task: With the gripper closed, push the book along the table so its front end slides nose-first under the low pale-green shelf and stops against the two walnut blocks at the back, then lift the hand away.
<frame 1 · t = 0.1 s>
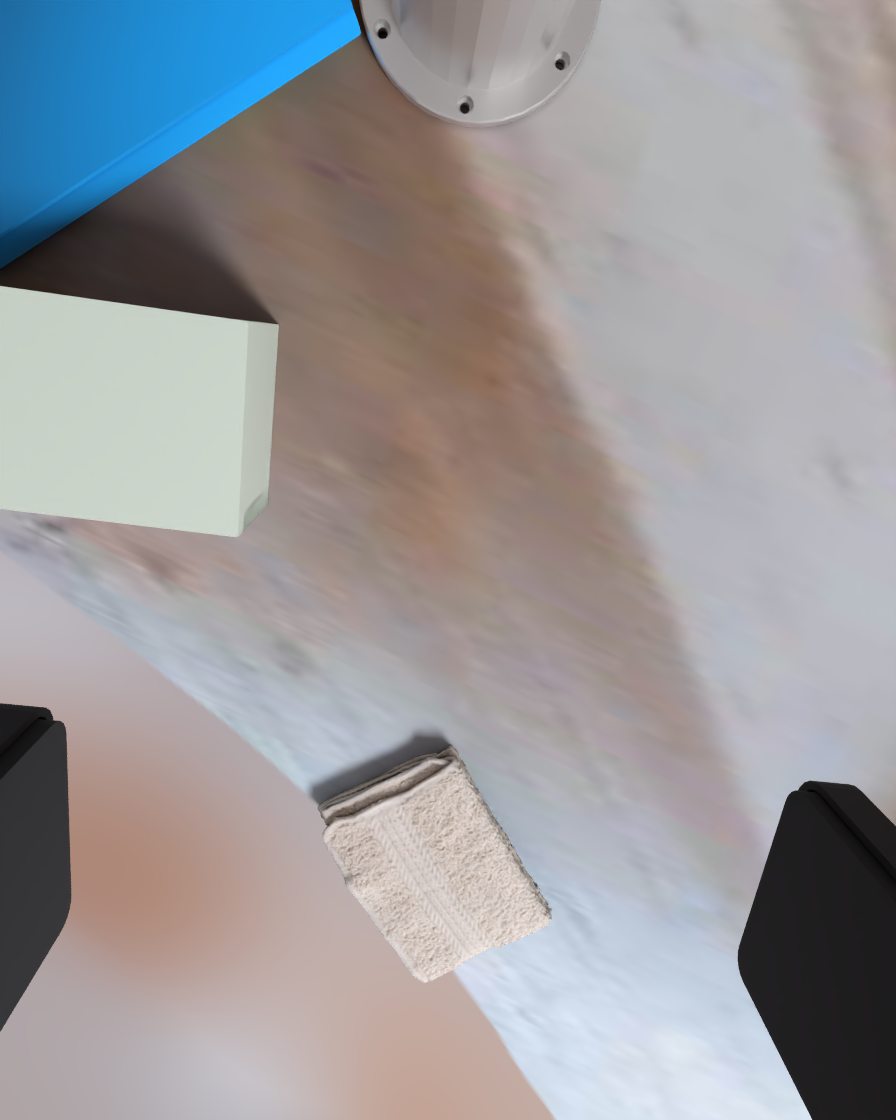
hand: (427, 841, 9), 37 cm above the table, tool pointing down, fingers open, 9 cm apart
book: (80, 13, 37), on the table
shelf: (93, 394, 42), on the table
washcloth: (436, 852, 54), on the table
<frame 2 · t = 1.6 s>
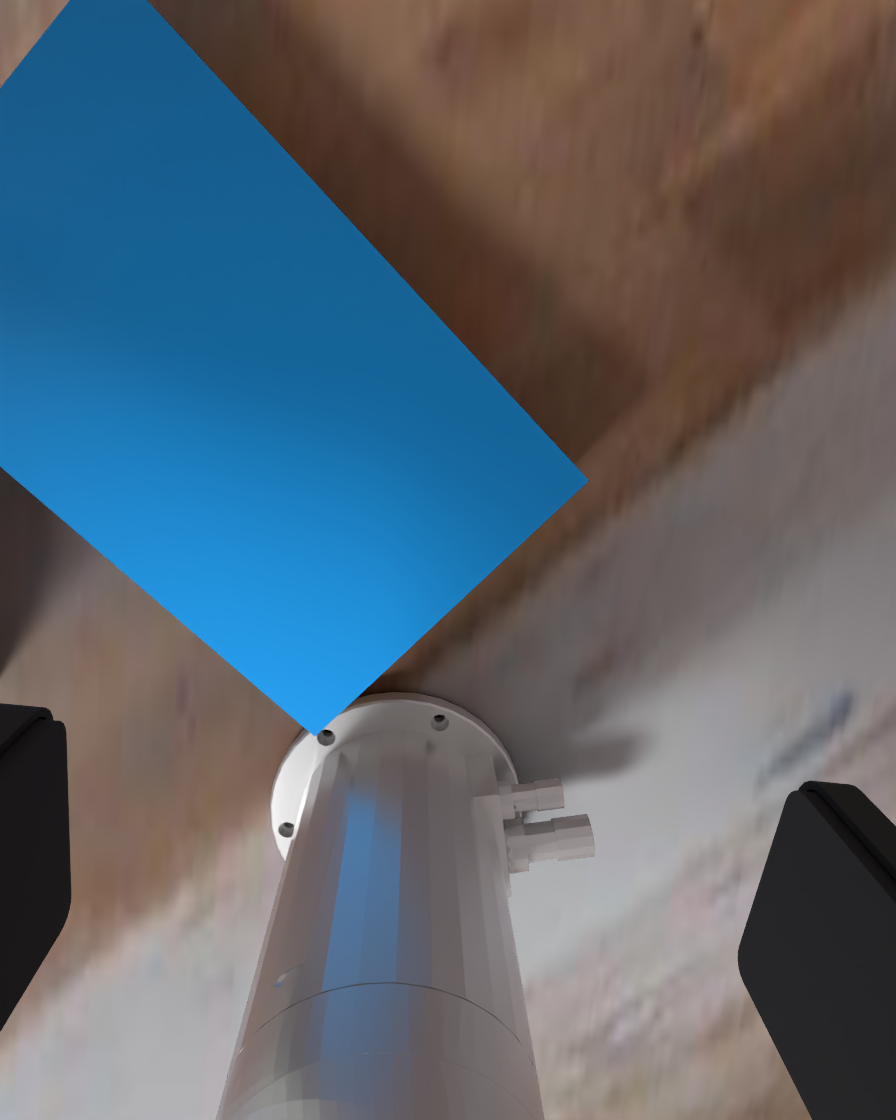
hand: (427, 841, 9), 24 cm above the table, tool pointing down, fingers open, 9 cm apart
book: (245, 401, 31), on the table
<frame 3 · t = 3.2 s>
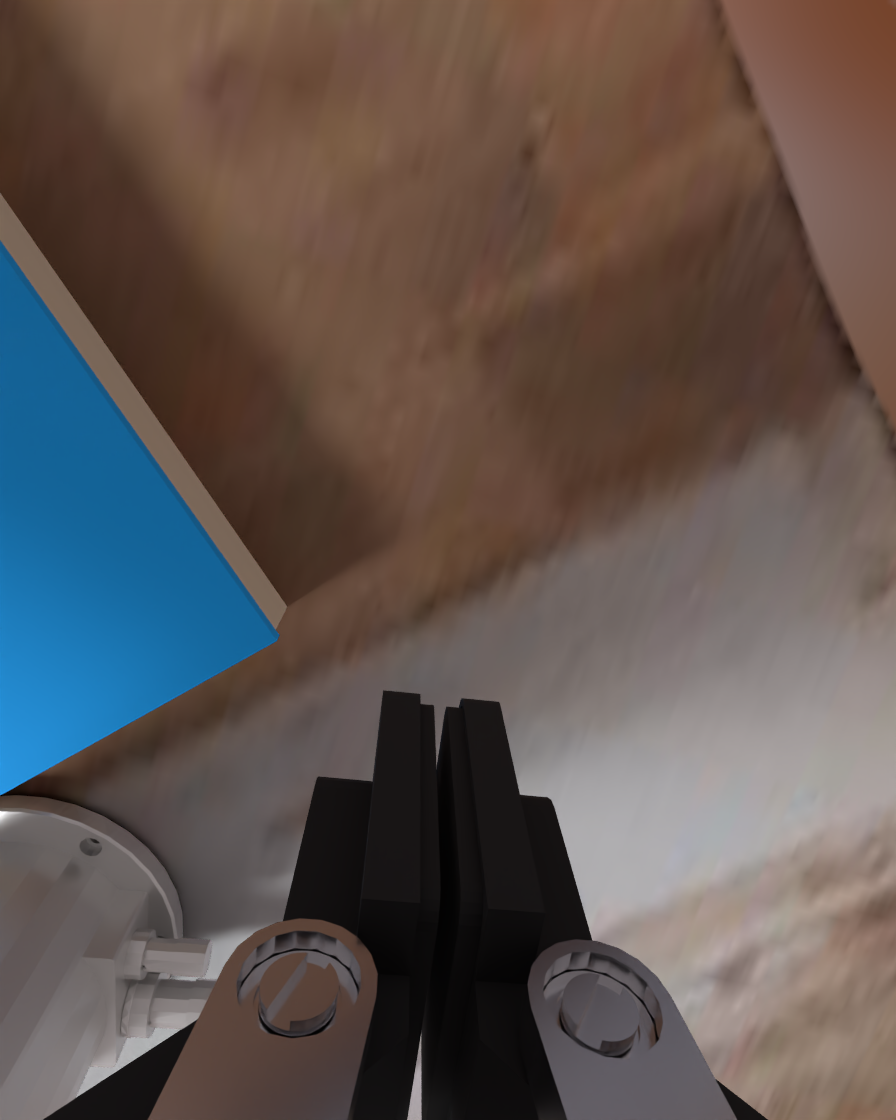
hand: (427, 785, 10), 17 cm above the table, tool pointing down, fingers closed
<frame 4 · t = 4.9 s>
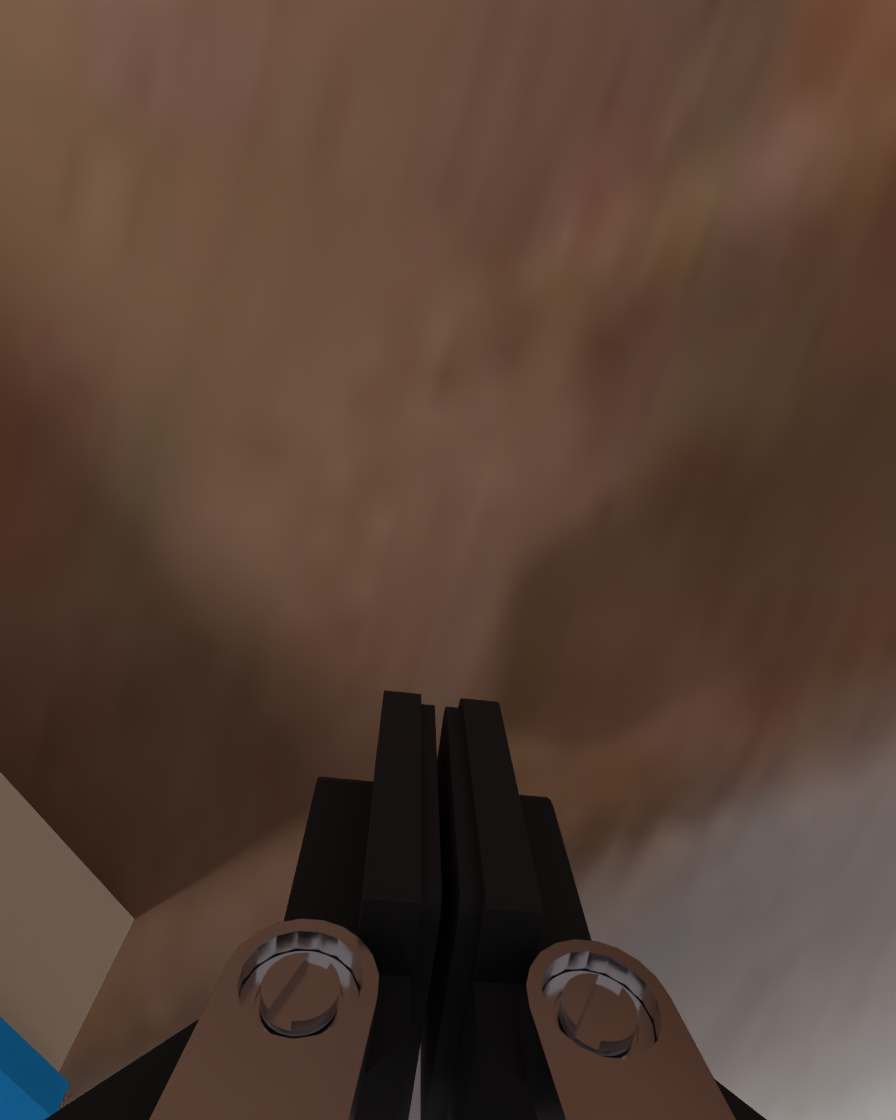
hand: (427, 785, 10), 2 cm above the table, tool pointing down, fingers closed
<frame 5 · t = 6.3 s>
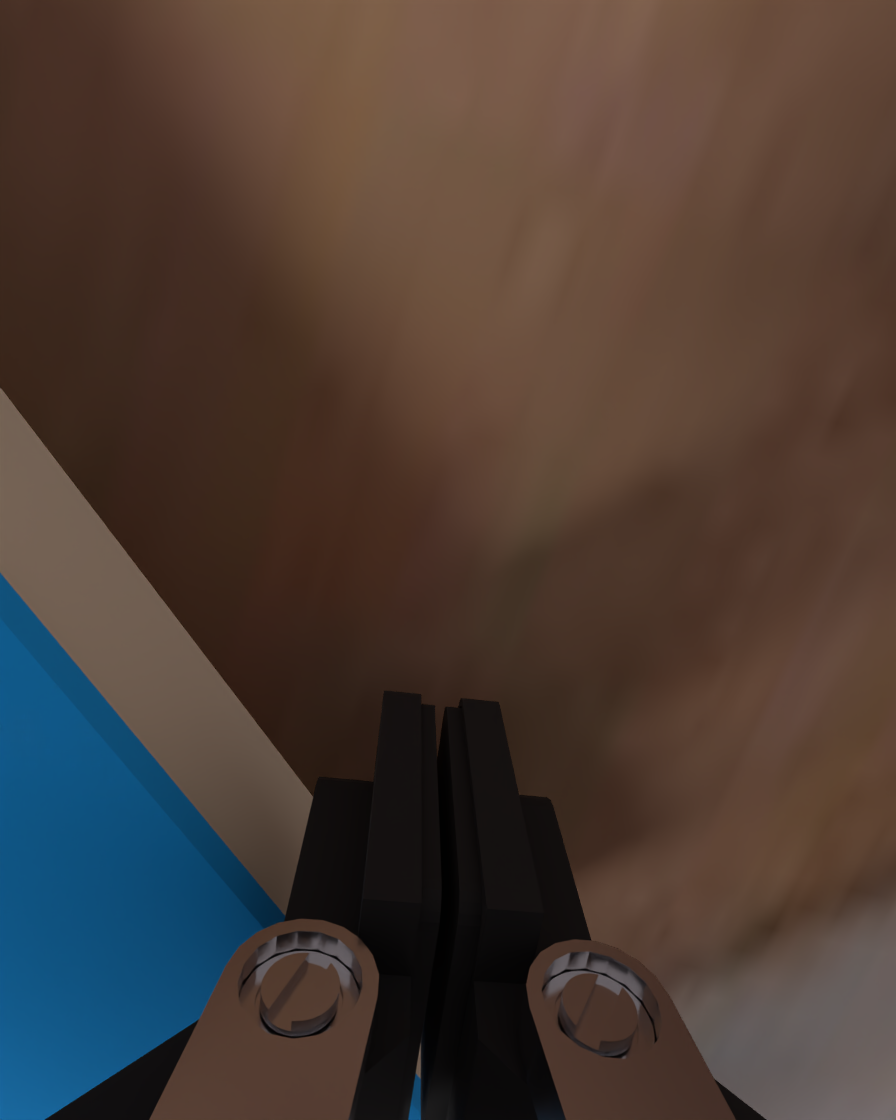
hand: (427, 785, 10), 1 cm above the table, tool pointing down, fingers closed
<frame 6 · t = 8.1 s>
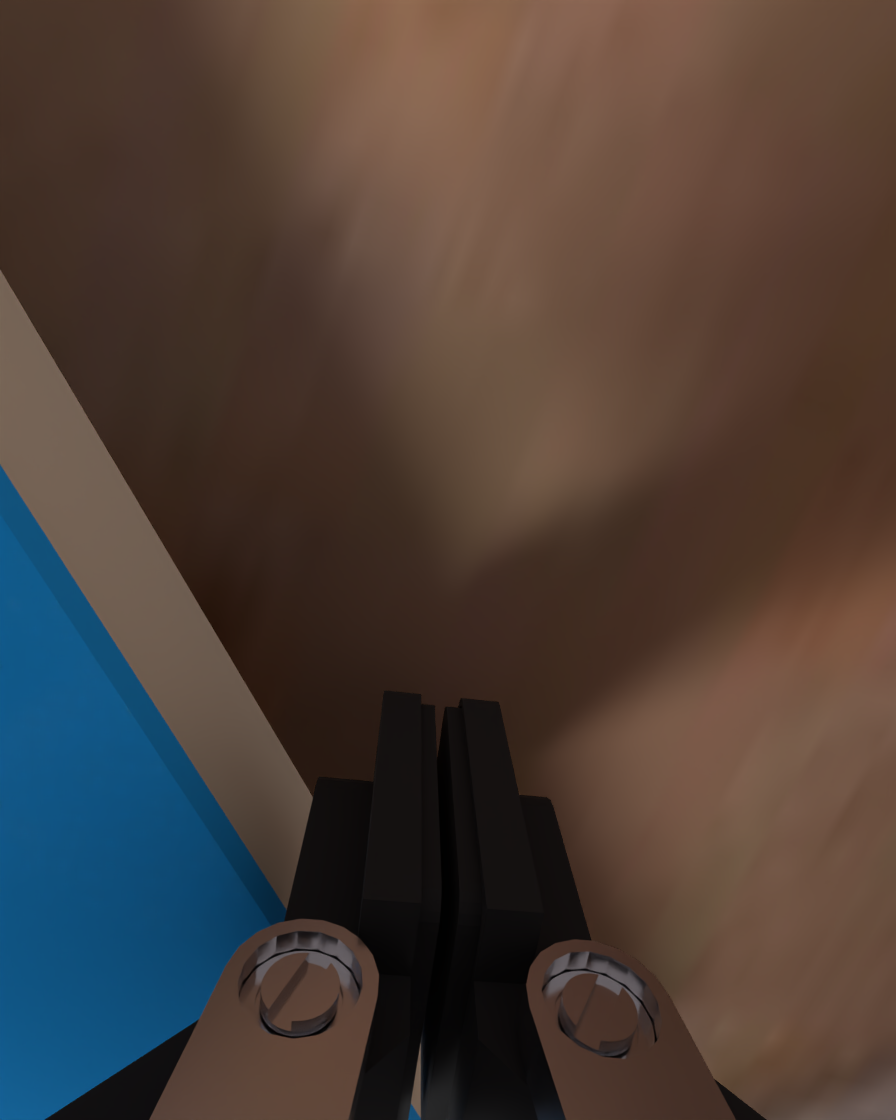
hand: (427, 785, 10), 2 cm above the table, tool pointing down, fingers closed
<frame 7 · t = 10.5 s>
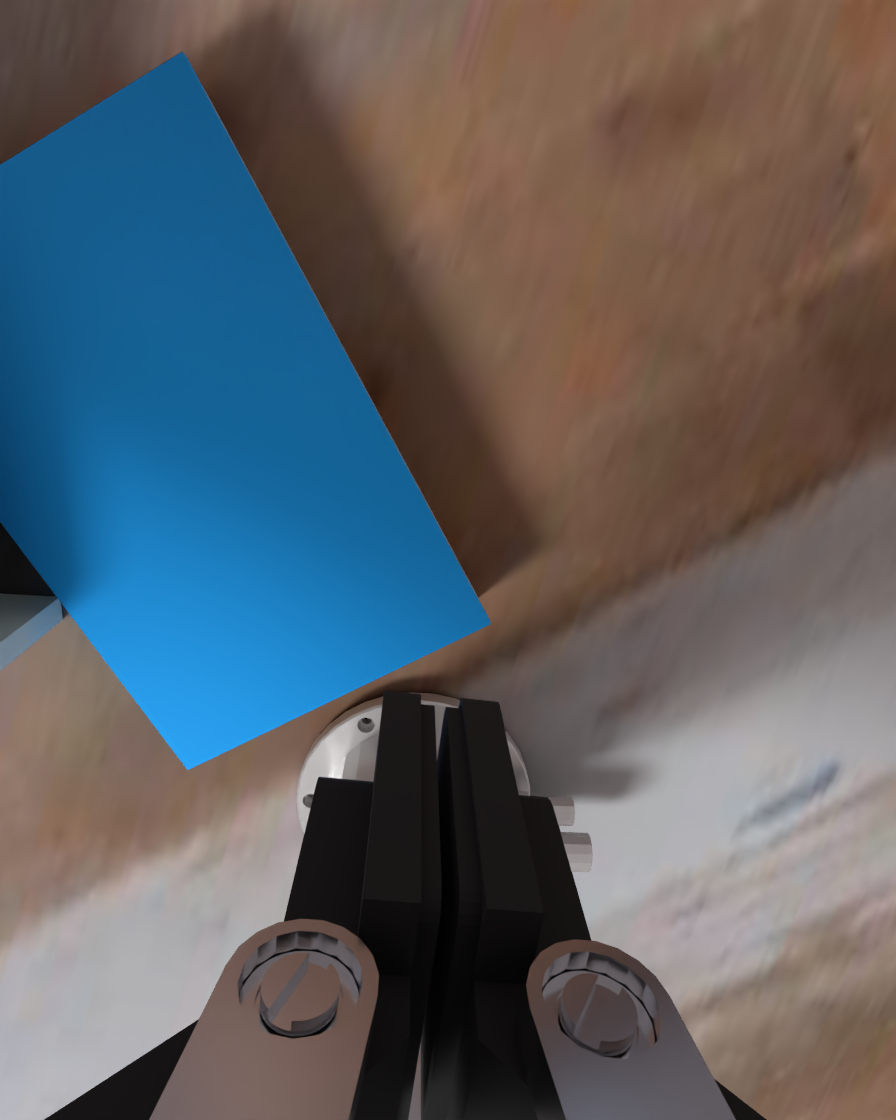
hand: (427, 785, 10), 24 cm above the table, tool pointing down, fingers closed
book: (208, 453, 33), on the table
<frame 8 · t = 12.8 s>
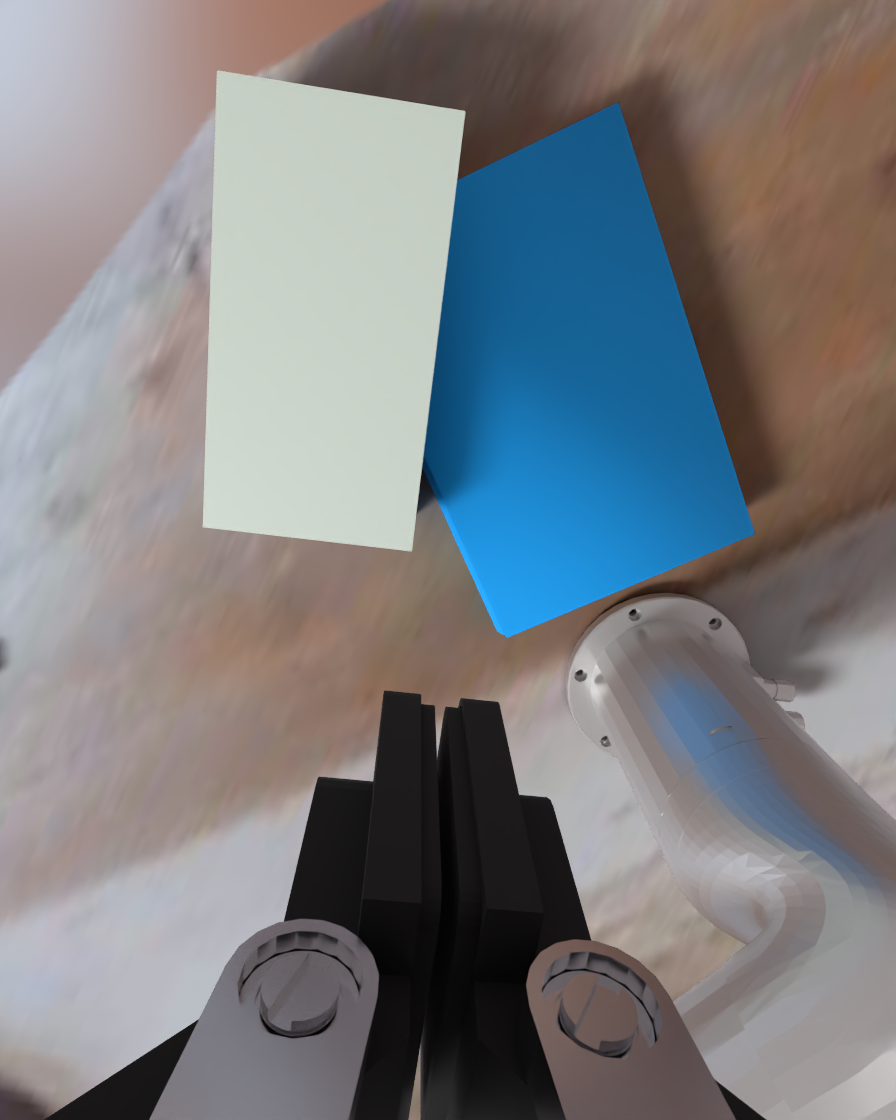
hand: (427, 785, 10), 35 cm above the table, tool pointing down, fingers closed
book: (540, 395, 44), on the table
shelf: (341, 330, 42), on the table
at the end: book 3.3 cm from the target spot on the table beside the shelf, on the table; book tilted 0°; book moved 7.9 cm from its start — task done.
